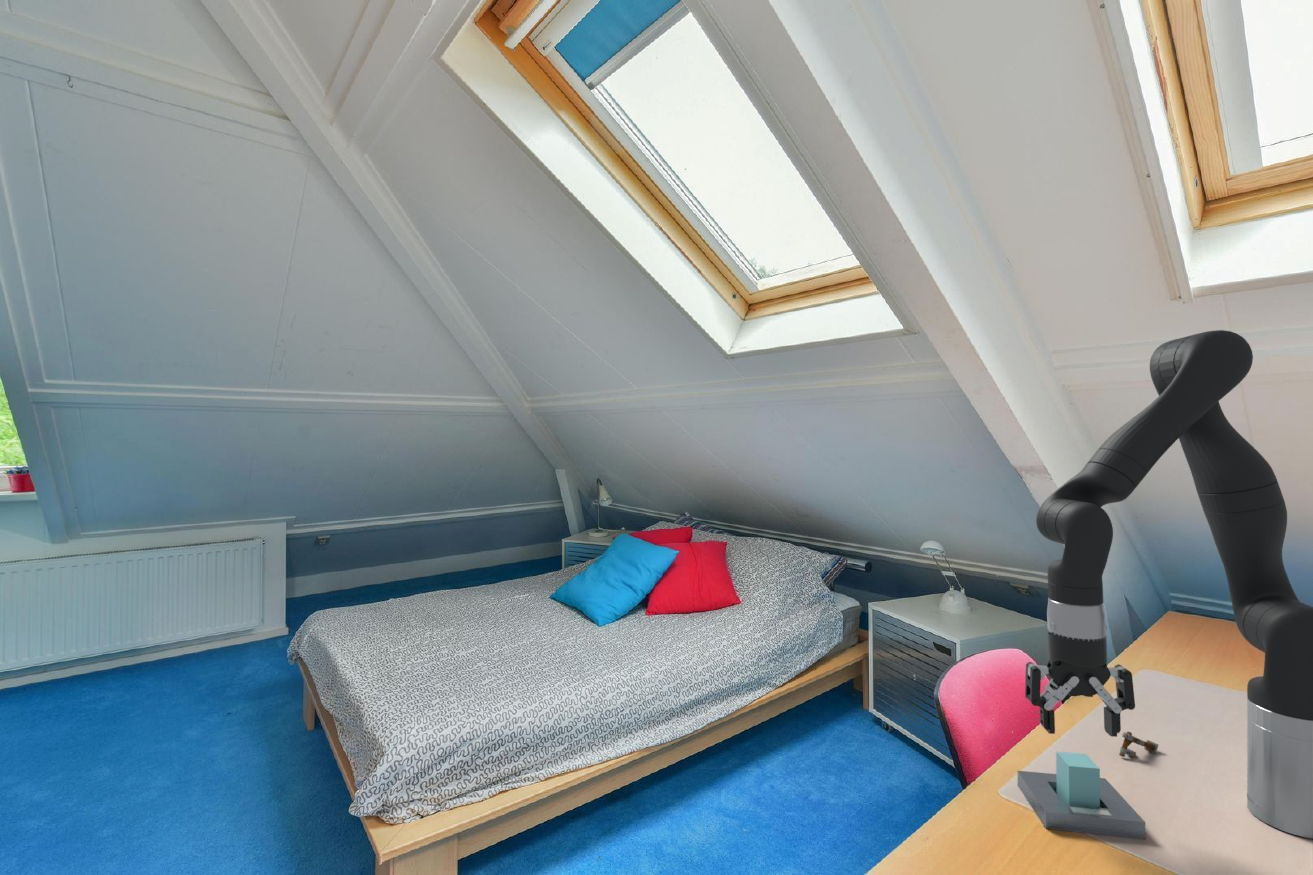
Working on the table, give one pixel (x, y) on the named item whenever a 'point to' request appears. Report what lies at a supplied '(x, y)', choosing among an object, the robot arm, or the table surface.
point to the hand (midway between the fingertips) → (1079, 732)
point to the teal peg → (1077, 779)
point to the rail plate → (1080, 808)
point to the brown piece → (1129, 739)
